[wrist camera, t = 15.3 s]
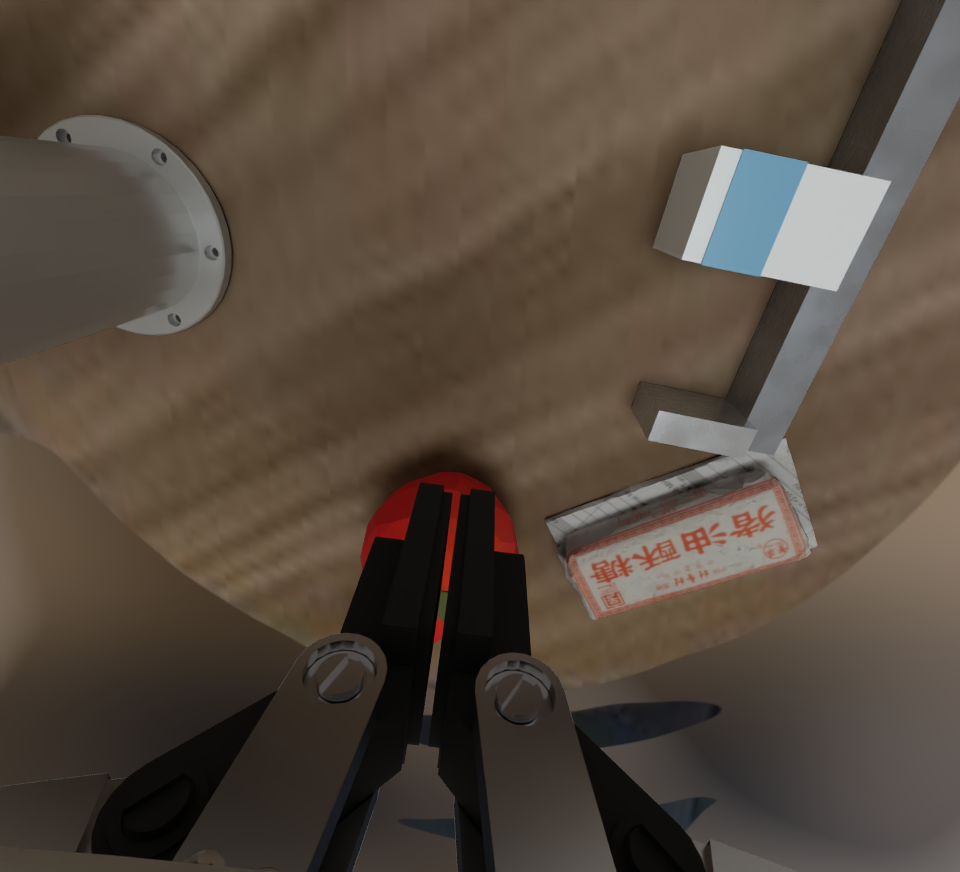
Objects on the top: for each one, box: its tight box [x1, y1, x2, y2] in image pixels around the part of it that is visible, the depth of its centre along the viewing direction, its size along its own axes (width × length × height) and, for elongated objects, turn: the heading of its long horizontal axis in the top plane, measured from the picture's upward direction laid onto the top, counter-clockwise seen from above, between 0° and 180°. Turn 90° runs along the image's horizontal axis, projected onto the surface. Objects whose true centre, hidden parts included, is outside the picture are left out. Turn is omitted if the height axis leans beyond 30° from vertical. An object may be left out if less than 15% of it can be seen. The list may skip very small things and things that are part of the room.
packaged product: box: [545, 437, 817, 620], centre depth 37 cm, size 18×5×10 cm
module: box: [653, 145, 891, 292], centre depth 26 cm, size 8×5×6 cm, turn 80°
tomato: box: [361, 471, 519, 644], centre depth 35 cm, size 11×13×10 cm
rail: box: [631, 0, 960, 459], centre depth 27 cm, size 9×26×5 cm, turn 170°
